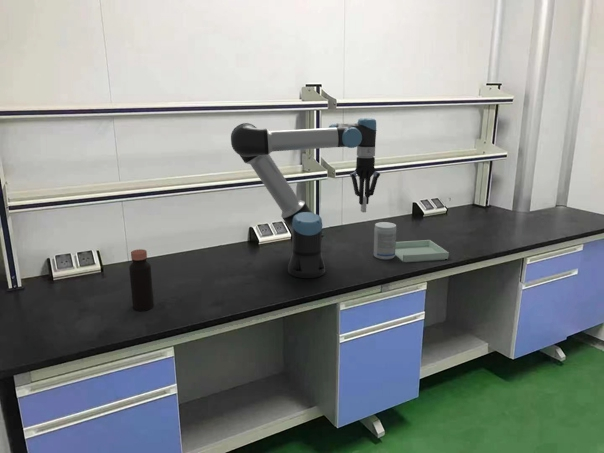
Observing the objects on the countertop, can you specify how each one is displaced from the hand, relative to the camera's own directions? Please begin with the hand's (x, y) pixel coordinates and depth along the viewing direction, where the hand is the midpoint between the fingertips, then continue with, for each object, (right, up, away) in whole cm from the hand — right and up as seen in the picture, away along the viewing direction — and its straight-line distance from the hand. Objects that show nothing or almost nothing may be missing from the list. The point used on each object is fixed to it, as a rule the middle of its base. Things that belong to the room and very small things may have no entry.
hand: (363, 211), depth 210 cm
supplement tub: (+10, -20, +8) cm, 24 cm away
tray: (+26, -19, +12) cm, 34 cm away
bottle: (-80, -34, -43) cm, 97 cm away
